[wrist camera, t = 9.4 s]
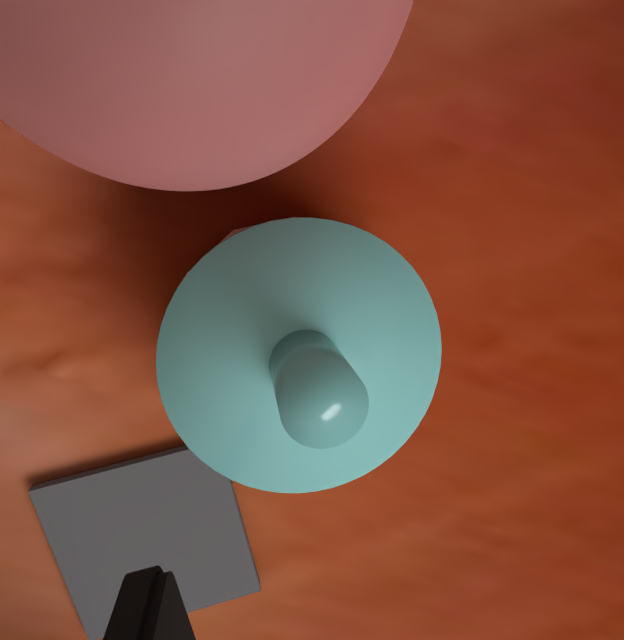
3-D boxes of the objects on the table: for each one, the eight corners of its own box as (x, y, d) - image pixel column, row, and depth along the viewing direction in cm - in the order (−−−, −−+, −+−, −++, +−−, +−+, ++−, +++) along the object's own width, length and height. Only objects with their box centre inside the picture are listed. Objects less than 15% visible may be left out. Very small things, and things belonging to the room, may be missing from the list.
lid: (410, 189, 20) (473, 184, 15) (448, 442, 24) (511, 511, 18) (122, 252, 19) (80, 271, 14) (201, 511, 22) (192, 606, 17)
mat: (218, 436, 27) (218, 441, 26) (260, 583, 30) (260, 590, 29) (32, 485, 26) (28, 491, 25) (92, 632, 28) (89, 641, 28)
